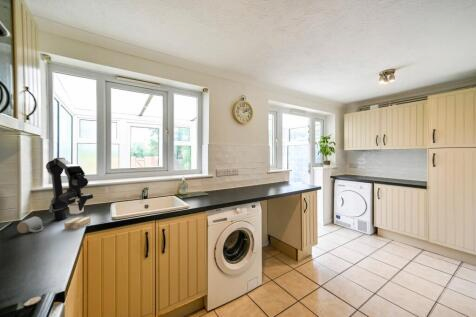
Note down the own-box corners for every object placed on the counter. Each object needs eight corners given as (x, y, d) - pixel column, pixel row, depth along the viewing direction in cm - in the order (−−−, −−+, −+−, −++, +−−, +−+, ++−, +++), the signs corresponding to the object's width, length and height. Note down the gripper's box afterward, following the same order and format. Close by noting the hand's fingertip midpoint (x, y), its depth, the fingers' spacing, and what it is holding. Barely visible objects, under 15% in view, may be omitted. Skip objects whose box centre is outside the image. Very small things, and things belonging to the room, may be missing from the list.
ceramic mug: (16, 234, 112) (14, 221, 112) (31, 228, 120) (30, 216, 120) (34, 234, 112) (32, 221, 111) (48, 228, 120) (47, 216, 120)
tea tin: (69, 213, 120) (68, 204, 119) (76, 211, 124) (76, 202, 124) (76, 214, 119) (76, 204, 119) (83, 211, 124) (83, 202, 124)
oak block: (64, 229, 118) (64, 223, 118) (77, 223, 127) (76, 217, 127) (79, 229, 118) (78, 222, 118) (90, 223, 127) (90, 217, 126)
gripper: (47, 189, 114) (49, 215, 115) (76, 188, 112) (78, 215, 113) (65, 185, 125) (67, 208, 126) (92, 184, 123) (94, 209, 124)
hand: (76, 210), depth 122 cm, fingers closed on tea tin, 5 cm apart
